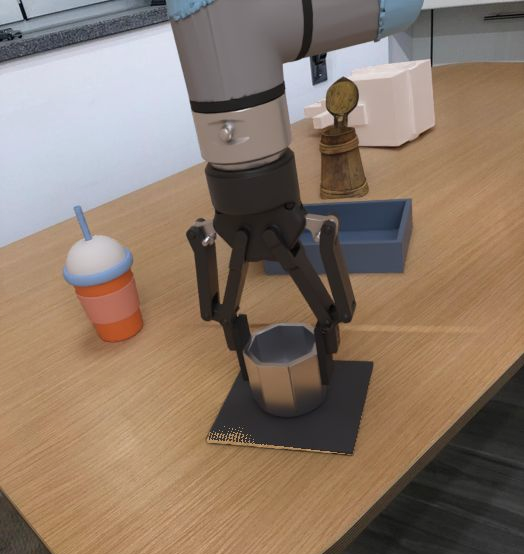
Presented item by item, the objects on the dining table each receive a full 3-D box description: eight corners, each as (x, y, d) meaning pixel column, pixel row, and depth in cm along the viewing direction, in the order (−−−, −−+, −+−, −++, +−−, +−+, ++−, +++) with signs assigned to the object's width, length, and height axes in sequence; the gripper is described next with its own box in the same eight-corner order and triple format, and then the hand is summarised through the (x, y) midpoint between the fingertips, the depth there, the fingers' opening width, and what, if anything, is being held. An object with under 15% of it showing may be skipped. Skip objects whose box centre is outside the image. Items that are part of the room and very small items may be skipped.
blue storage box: (412, 230, 92) (411, 198, 89) (403, 277, 81) (401, 242, 78) (290, 235, 99) (286, 204, 96) (266, 279, 88) (260, 246, 85)
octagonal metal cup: (334, 372, 65) (327, 322, 61) (319, 420, 59) (311, 367, 55) (267, 370, 67) (257, 321, 64) (247, 415, 62) (234, 365, 58)
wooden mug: (375, 172, 116) (368, 72, 105) (364, 200, 105) (356, 92, 95) (329, 175, 118) (319, 78, 108) (315, 203, 108) (302, 98, 98)
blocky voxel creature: (351, 123, 152) (451, 120, 133) (286, 156, 139) (386, 158, 120) (342, 60, 144) (447, 48, 125) (272, 89, 132) (377, 80, 112)
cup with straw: (78, 350, 80) (26, 226, 70) (103, 314, 88) (59, 196, 77) (141, 347, 78) (97, 218, 68) (161, 310, 86) (124, 188, 75)
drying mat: (373, 365, 67) (373, 361, 66) (353, 456, 56) (352, 451, 56) (247, 360, 72) (246, 356, 71) (206, 443, 61) (205, 439, 61)
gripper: (117, 179, 49) (184, 392, 62) (366, 161, 43) (384, 404, 56) (155, 149, 55) (209, 350, 68) (380, 129, 48) (393, 356, 61)
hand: (288, 374), depth 62 cm, fingers closed on octagonal metal cup, 8 cm apart
